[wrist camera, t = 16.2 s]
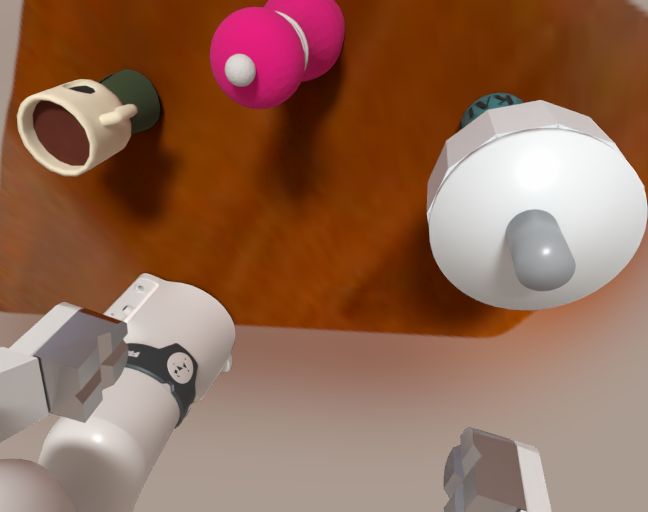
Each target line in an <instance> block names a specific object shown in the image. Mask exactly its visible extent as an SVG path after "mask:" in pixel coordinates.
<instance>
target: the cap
mask: <svg viewBox="0 0 648 512" xmlns="http://www.w3.org/2000/svg"><path fill="white" fill-rule="evenodd" d="M427 218H428V225H429V235H430V244H431V249H432V253H433V257H434V258H435V260H436V263H437V264H438V266H439V268H440V270H441V271H442V273H443V274H444V275H445V276H446V278H447V279H448V280H449V281H450V282H451V283H452V284H453V285H454V286H455V287H457V288H458V289H459V290H461V291H462V292H463V293H465V294H466V295H468V296H470V297H472V298H474V299H476V300H478V301H480V302H483V303H485V304H488V305H492V306H495V307H500V308H505V309H513V310H539V309H547V308H552V307H557V306H561V305H564V304H568V303H570V302H574V301H576V300H578V299H581V298H583V297H585V296H587V295H589V294H591V293H593V292H595V291H597V290H598V289H600V288H601V287H602V286H604V285H605V284H607V283H608V282H609V281H611V280H612V279H613V278H614V277H615V276H616V275H618V274H619V273H620V271H621V270H622V269H623V268H624V267H625V266H626V265H627V264H628V262H629V261H630V260H631V258H632V257H633V255H634V254H635V252H636V250H637V248H638V247H639V245H640V243H641V240H642V237H643V235H644V232H645V227H646V222H647V200H646V194H645V191H644V185H643V184H642V182H641V181H640V179H639V177H638V175H637V173H636V172H635V170H634V169H633V168H632V167H631V165H630V164H629V163H628V162H627V161H626V159H625V158H624V156H623V155H622V153H621V152H620V150H619V149H618V147H617V146H616V145H615V143H614V142H613V141H612V140H611V139H610V138H609V137H608V136H607V135H606V134H605V133H604V132H603V131H602V130H601V129H600V128H599V127H598V126H597V124H596V123H595V122H594V121H593V120H592V119H591V118H590V117H588V116H585V115H582V114H579V113H577V112H574V111H571V110H568V109H565V108H562V107H559V106H557V105H554V104H551V103H548V102H545V101H542V100H539V101H533V102H528V103H522V104H517V105H511V106H506V107H500V108H495V109H489V110H487V111H485V112H484V113H483V114H481V115H480V116H479V117H477V118H476V119H475V120H473V121H472V122H471V123H469V124H468V125H467V126H465V127H464V128H463V129H461V130H460V131H459V132H458V133H456V134H455V135H454V136H452V137H451V138H450V139H448V140H447V141H446V143H445V145H444V147H443V150H442V152H441V154H440V156H439V158H438V161H437V163H436V165H435V167H434V169H433V172H432V174H431V176H430V178H429V180H428V195H427Z"/></svg>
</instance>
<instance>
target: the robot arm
mask: <svg viewBox="0 0 648 512" xmlns="http://www.w3.org/2000/svg"><path fill="white" fill-rule="evenodd" d="M235 339H236V331H235V326H234V323H233V321H232V319H231V317H230V315H229V313H228V312H227V311H226V309H225V308H224V307H223V306H222V305H221V304H220V303H219V302H218V301H217V300H216V299H215V298H213V297H212V296H211V295H209V294H208V293H206V292H204V291H203V290H201V289H198V288H196V287H194V286H191V285H187V284H183V283H177V282H169V281H164V280H162V279H160V278H158V277H156V276H153V275H151V274H147V273H144V274H141V275H140V276H139V277H138V278H137V279H136V280H135V281H134V282H133V283H132V284H131V285H130V286H129V287H128V288H127V290H126V291H125V292H124V293H123V294H122V295H121V296H120V297H119V298H118V299H117V300H116V301H115V302H114V303H113V304H112V305H111V306H110V307H109V308H108V309H107V310H106V311H105V312H104V313H103V314H100V313H97V312H94V311H91V310H88V309H85V308H82V307H79V306H76V305H72V304H69V303H66V302H63V303H60V304H58V305H56V306H55V307H54V308H53V309H52V310H51V311H49V312H48V313H47V314H46V315H45V316H44V317H43V318H42V319H41V320H40V321H39V322H37V324H35V325H34V326H33V327H32V328H31V329H30V330H29V331H28V332H27V333H25V334H24V335H23V336H22V337H21V338H20V339H19V340H18V341H16V342H15V343H14V344H13V345H12V346H11V347H10V348H5V347H1V348H0V442H2V441H4V440H6V439H7V438H9V437H11V436H13V435H14V434H16V433H18V432H20V431H21V430H23V429H25V428H27V427H28V426H30V425H32V424H34V423H36V422H37V421H39V420H41V419H43V418H45V417H46V416H48V415H49V413H52V414H55V415H59V416H61V417H60V418H59V420H58V421H57V422H56V423H55V424H54V426H53V427H52V428H51V430H50V432H49V434H48V435H47V437H46V440H45V442H44V445H43V448H42V451H41V455H40V458H39V460H38V463H35V462H32V461H28V460H23V459H0V512H133V509H134V506H135V504H136V502H137V499H138V497H139V495H140V492H141V490H142V488H143V486H144V483H145V481H146V480H147V478H148V476H149V474H150V472H151V470H152V468H153V466H154V464H155V463H156V461H157V459H158V457H159V455H160V453H161V451H162V450H163V448H164V446H165V444H166V442H167V441H168V439H169V437H170V435H171V433H172V432H173V430H174V429H175V428H176V427H177V426H179V425H180V423H181V422H182V421H183V419H184V418H185V417H186V416H187V414H188V412H189V410H190V408H191V405H192V403H194V402H197V401H201V400H202V399H203V398H204V397H205V395H206V394H207V392H208V391H209V389H210V387H211V386H212V384H213V383H214V381H215V380H216V378H217V377H218V375H219V374H220V373H225V372H228V371H229V370H230V368H231V367H232V364H233V362H232V356H231V351H232V348H233V346H234V343H235ZM444 490H445V492H446V493H447V495H448V497H449V498H450V500H449V502H448V503H447V505H446V506H445V507H444V512H552V510H551V506H550V502H549V496H548V492H547V487H546V483H545V478H544V474H543V469H542V464H541V460H540V455H539V452H538V450H537V449H536V447H533V446H530V445H527V444H524V443H520V442H517V441H514V440H511V439H508V438H505V437H502V436H498V435H495V434H491V433H488V432H484V431H481V430H478V429H474V428H471V427H468V428H466V429H465V430H464V431H463V433H462V435H461V445H459V446H456V447H453V449H452V450H451V452H450V454H449V456H448V459H447V462H446V465H445V471H444Z"/></svg>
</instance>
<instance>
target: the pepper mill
mask: <svg viewBox="0 0 648 512" xmlns="http://www.w3.org/2000/svg"><path fill="white" fill-rule="evenodd" d="M344 36H345V22H344V18H343V15H342V12H341V10H340V8H339V6H338V5H337V4H336V2H335V1H334V0H269V1H268V2H267V3H266V4H265V6H264V7H263V8H261V7H247V8H244V9H241V10H238V11H236V12H234V13H232V14H231V15H229V16H228V17H227V18H226V19H225V20H223V22H222V23H221V24H220V25H219V27H218V28H217V30H216V32H215V34H214V37H213V40H212V43H211V49H210V62H211V67H212V71H213V74H214V77H215V79H216V81H217V83H218V85H219V86H220V88H221V89H222V90H223V91H224V93H225V94H226V95H227V96H228V97H229V98H231V99H232V100H233V101H235V102H237V103H238V104H240V105H243V106H245V107H248V108H253V109H267V108H271V107H275V106H277V105H279V104H281V103H283V102H284V101H286V100H287V99H289V98H290V97H291V96H292V94H293V93H294V92H295V91H296V90H297V88H298V87H299V85H300V83H301V81H308V80H312V79H315V78H317V77H319V76H321V75H323V74H324V73H326V72H327V71H328V70H329V69H330V68H331V67H332V66H333V65H334V64H335V62H336V61H337V59H338V57H339V55H340V52H341V49H342V45H343V40H344Z"/></svg>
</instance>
